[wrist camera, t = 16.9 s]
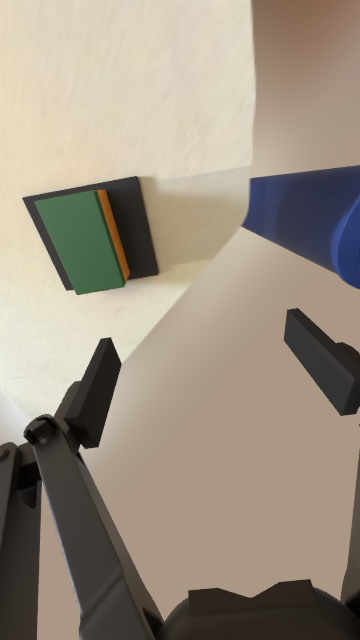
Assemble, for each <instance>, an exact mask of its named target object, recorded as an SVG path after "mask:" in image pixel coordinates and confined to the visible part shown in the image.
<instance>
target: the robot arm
mask: <svg viewBox="0 0 360 640" xmlns="http://www.w3.org/2000/svg"><path fill="white" fill-rule="evenodd" d="M359 253H360V248H359ZM284 341H285V342H286V344H287V345H288V346H289V348H290V349H291V350H292V352H293V353H294V354H295V356H296V357H297V358H298V360H299V361H300V362H301V364H302V365H303V366H304V368H305V369H306V370H307V372H308V373H309V374H310V376H311V377H312V378H313V380H314V381H315V382H316V384H317V385H318V386H319V387H320V389H321V390H322V391H323V393H324V394H325V395H326V397H327V398H328V399H329V401H330V402H331V403H332V404H333V406H334V407H335V409H336V410H337V411H338V412H339V414H340V415H341V416H343V415H351V414H356V412H357V410H358V408H359V407H360V354H359V352H358V351H356V350H355V349H354V348H353V347H351V346H349V345H347V344H345V343H343V342H340V343H335V342H334V341H333V340H332V339H331V338H329V336H327V335H326V334H325V333H324V332H323V331H322V330H321V329H320V328H319V327H318V326H317V325H315V323H313V322H312V321H311V320H310V319H309V318H308V317H307V316H306V315H305V314H304V313H303V312H302V311H300V310H299V309H298V308H296V309H290V310H287V317H286V326H285V334H284ZM121 365H122V364H121V361H120V359H119V357H118V354H117V352H116V349H115V347H114V344H113V342H112V339H111V337H109V338H103V339H101V340H100V342H99V344H98V346H97V348H96V350H95V352H94V354H93V357H92V359H91V361H90V363H89V365H88V367H87V369H86V371H85V374H84V376H83V378H82V380H81V381H76V382H74V383H73V384H72V385H71V386H70V387H69V388H68V390H67V392H66V394H65V397H64V398H63V400H62V403H61V404H60V406H59V408H58V409H57V411H56V413H55V415H54V417H52V416H51V415H49V414H45V415H41V416H39V417H37V418H35V419H34V420H33V421H31V422H30V423H29V425H28V426H27V427H26V429H25V431H24V437H25V438H26V439H27V440H28V442H27V443H24V444H22V445H20V446H16V445H15V444H14V443H12V442H8V443H5V444H3V445H1V446H0V640H37V614H38V582H39V552H40V521H41V491H42V481H43V484H44V488H45V492H46V495H47V499H48V502H49V506H50V509H51V513H52V516H53V520H54V523H55V527H56V531H57V534H58V537H59V541H60V545H61V548H62V552H63V556H64V559H65V562H66V566H67V570H68V573H69V577H70V580H71V584H72V587H73V591H74V594H75V598H76V602H77V605H78V609H79V612H80V619H81V622H80V627H79V638H80V640H360V451H359V461H358V472H357V481H356V490H355V500H354V509H353V519H352V529H351V538H350V547H349V557H348V565H347V570H346V573H345V576H344V580H343V585H342V592H341V600H340V601H339V600H338V599H336V598H335V597H333V596H331V595H330V594H328V593H327V592H324V591H322V590H320V589H318V588H315V587H313V586H312V583H311V580H310V579H308V580H297V581H286V582H279V583H277V584H275V585H274V586H272V587H270V588H269V589H267V590H265V591H263V592H261V593H260V594H258V595H256V596H255V597H252V598H248V597H245V596H242V595H238V594H235V593H232V592H229V591H226V590H223V589H219V588H212V589H200V590H189V591H188V592H189V593H188V594H189V597H188V598H187V599H185V600H183V601H182V602H181V603H180V604H178V605H177V606H176V608H175V609H174V610H173V611H172V612H171V613H170V615H169V616H168V618H167V619H166V620H165V622H164V620H163V618H162V616H161V614H160V612H159V610H158V608H157V606H156V604H155V602H154V601H153V599H152V597H151V596H150V594H149V592H148V591H147V589H146V587H145V585H144V584H143V582H142V580H141V578H140V576H139V574H138V572H137V570H136V567H135V565H134V563H133V561H132V559H131V557H130V555H129V553H128V551H127V549H126V547H125V545H124V543H123V540H122V538H121V536H120V534H119V532H118V530H117V528H116V526H115V524H114V522H113V520H112V518H111V516H110V514H109V512H108V510H107V508H106V505H105V504H104V501H103V499H102V497H101V495H100V493H99V491H98V489H97V487H96V485H95V483H94V481H93V479H92V477H91V474H90V472H89V470H88V469H87V466H86V464H85V462H84V460H83V458H82V456H81V454H80V452H79V451H78V450H79V447H80V444H82V446H83V447H84V448H85V449H88V448H95V447H98V446H99V443H100V439H101V435H102V432H103V429H104V425H105V422H106V418H107V414H108V411H109V407H110V404H111V400H112V397H113V393H114V389H115V386H116V382H117V379H118V375H119V372H120V368H121ZM359 426H360V425H359Z"/></svg>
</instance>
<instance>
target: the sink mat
mask: <svg viewBox="0 0 360 640" xmlns="http://www.w3.org/2000/svg"><path fill="white" fill-rule="evenodd" d="M91 190H106V193H107V196H108V200H109V203H110V207H111V210H112V213H113V217H114V220H115V224H116V227H117V230H118V234H119V237H120V241H121V244H122V248H123V251H124V254H125V258H126V261H127V265H128V268H129V271H130V274H129V276H128V279H127V280H130V279H136V278H142V277H147V276H153V275H158V269H157V265H156V260H155V255H154V251H153V246H152V242H151V237H150V233H149V228H148V224H147V219H146V215H145V210H144V205H143V201H142V196H141V192H140V187H139V183H138V178H137V176H134V177H129V178H124V179H118V180H113V181H108V182H102V183H97V184H92V185H87V186H81V187H76V188H71V189H66V190H60V191H55V192H50V193H44V194H39V195H34V196H29V197H23V198H22V199H23V201H24V203H25V205H26V207H27V209H28V211H29V214H30V216H31V218H32V220H33V222H34V224H35V226H36V228H37V230H38V232H39V234H40V237H41V239H42V241H43V243H44V245H45V247H46V249H47V251H48V253H49V255H50V257H51V260H52V262H53V264H54V266H55V268H56V270H57V272H58V274H59V276H60V278H61V281H62V283H63V285H64V287H65V289H66V291H67V290H73V289H74V288H73V286H72V283H71V281H70V279H69V277H68V275H67V272H66V270H65V268H64V266H63V264H62V261H61V259H60V257H59V255H58V253H57V250H56V248H55V246H54V244H53V242H52V239H51V237H50V235H49V233H48V231H47V228H46V226H45V224H44V222H43V220H42V217H41V215H40V213H39V211H38V209H37V206H36V204H35V201H38V200H44V199H49V198H54V197H60V196H65V195H70V194H76V193H81V192H86V191H91Z"/></svg>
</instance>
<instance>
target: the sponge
mask: <svg viewBox="0 0 360 640" xmlns="http://www.w3.org/2000/svg"><path fill="white" fill-rule="evenodd" d="M35 204H36V206H37V209H38V211H39V213H40V215H41V217H42V220H43V222H44V224H45V226H46V228H47V231H48V233H49V235H50V237H51V239H52V242H53V244H54V246H55V248H56V250H57V253H58V255H59V257H60V259H61V261H62V264H63V266H64V268H65V270H66V272H67V275H68V277H69V279H70V281H71V283H72V286H73V288H74V290H75V292H76V294H77V295H81V294H87V293H92V292H98V291H104V290H110V289H115V288H121V287H124V286H125V284H126V281H127V279H128V276H129V274H130V271H129V268H128V265H127V261H126V258H125V254H124V251H123V248H122V244H121V241H120V237H119V234H118V230H117V227H116V224H115V220H114V217H113V213H112V210H111V207H110V203H109V200H108V196H107V193H106V190H91V191H86V192H81V193H76V194H70V195H65V196H60V197H54V198H49V199H44V200H38V201H35Z"/></svg>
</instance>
